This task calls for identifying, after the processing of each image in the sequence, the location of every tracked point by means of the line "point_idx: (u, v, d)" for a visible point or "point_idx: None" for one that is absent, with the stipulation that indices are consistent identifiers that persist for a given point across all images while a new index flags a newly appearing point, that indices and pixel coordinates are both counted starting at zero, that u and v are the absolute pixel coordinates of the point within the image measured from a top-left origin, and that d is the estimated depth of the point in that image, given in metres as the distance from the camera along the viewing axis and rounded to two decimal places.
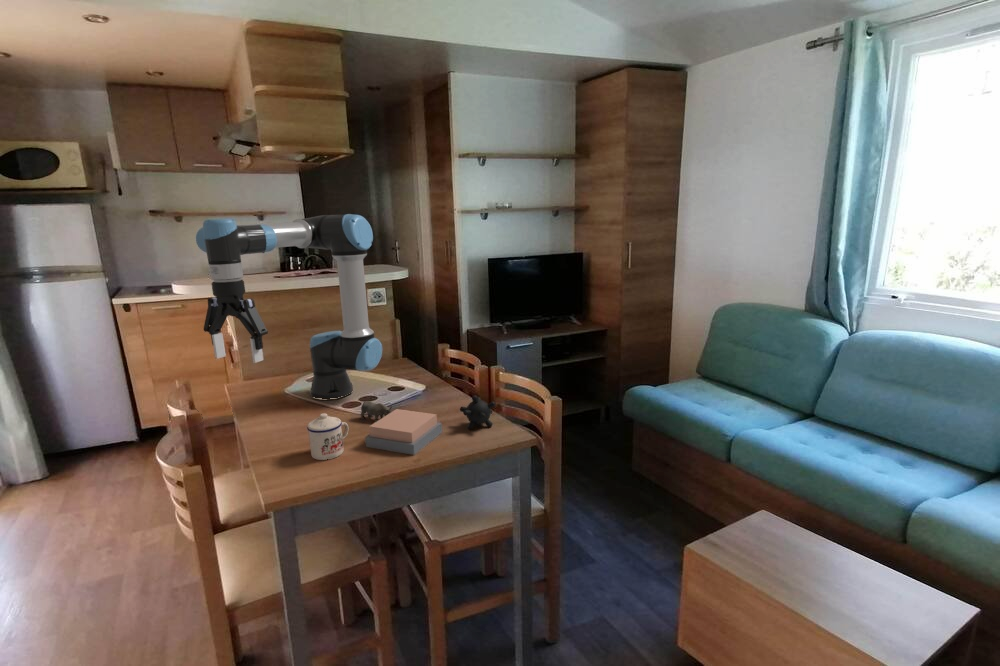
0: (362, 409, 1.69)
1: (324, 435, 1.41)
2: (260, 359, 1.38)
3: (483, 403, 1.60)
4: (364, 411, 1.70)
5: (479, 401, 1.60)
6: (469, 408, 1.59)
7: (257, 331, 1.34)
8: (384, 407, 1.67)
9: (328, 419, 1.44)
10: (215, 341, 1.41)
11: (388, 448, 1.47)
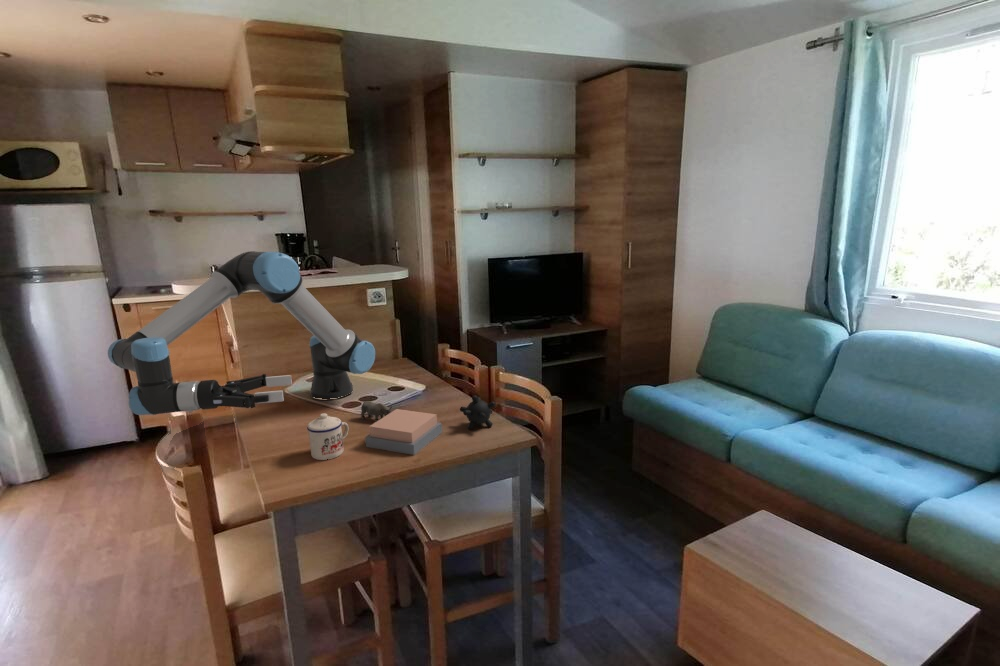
0: (362, 409, 1.69)
1: (324, 435, 1.41)
2: (280, 395, 1.34)
3: (483, 403, 1.60)
4: (364, 411, 1.70)
5: (479, 401, 1.60)
6: (469, 408, 1.59)
7: None
8: (384, 407, 1.67)
9: (328, 419, 1.44)
10: (273, 385, 1.46)
11: (388, 448, 1.47)
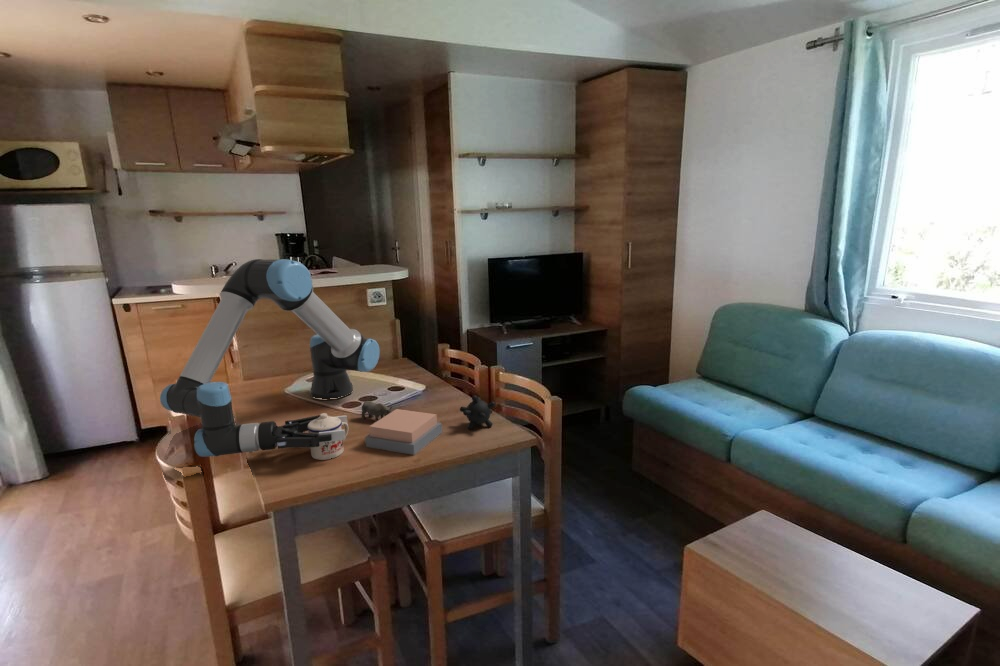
0: (362, 409, 1.69)
1: None
2: (342, 434, 1.41)
3: (483, 403, 1.60)
4: (364, 411, 1.69)
5: (479, 401, 1.60)
6: (469, 408, 1.59)
7: None
8: (384, 407, 1.67)
9: (328, 419, 1.44)
10: None
11: (388, 448, 1.47)
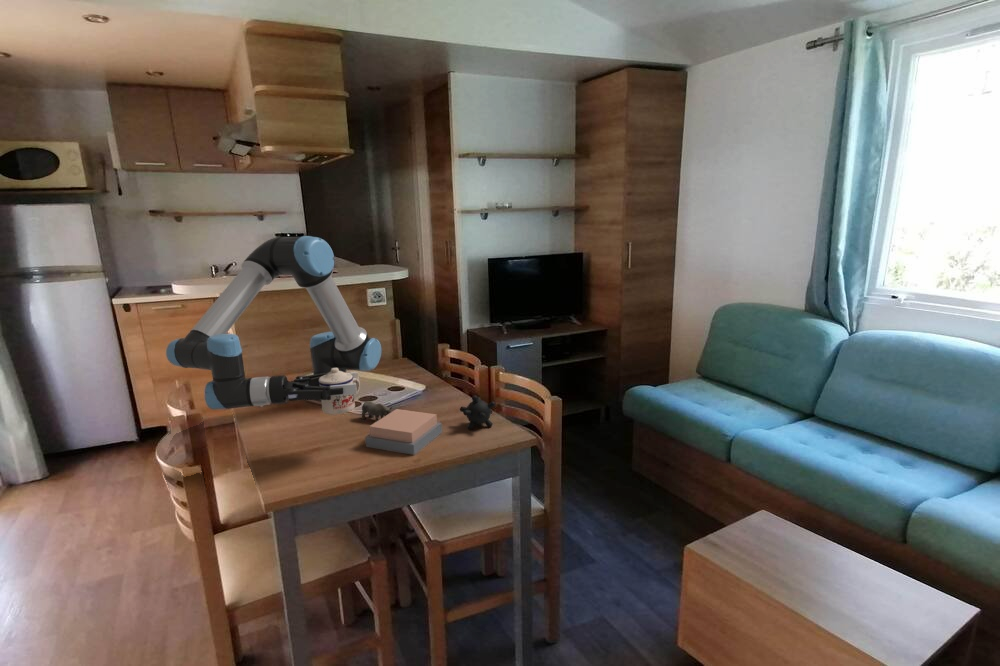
0: (363, 409, 1.69)
1: None
2: (354, 387, 1.39)
3: (483, 403, 1.60)
4: (365, 411, 1.69)
5: (479, 401, 1.60)
6: (469, 408, 1.59)
7: None
8: (384, 407, 1.66)
9: (339, 373, 1.41)
10: None
11: (388, 448, 1.47)
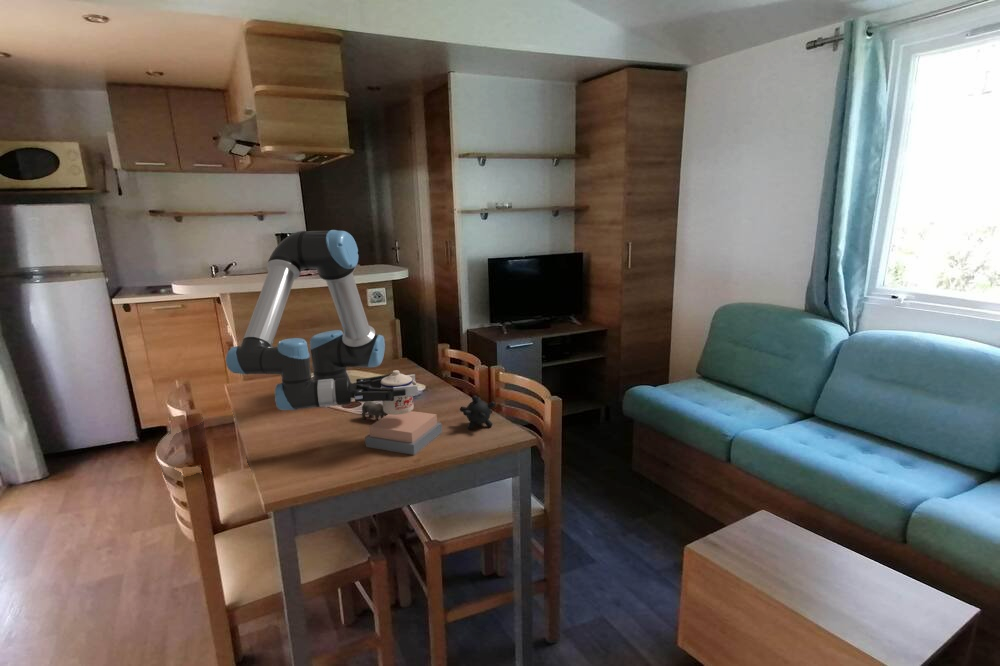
0: (363, 409, 1.69)
1: None
2: (416, 389, 1.46)
3: (483, 403, 1.60)
4: (365, 411, 1.69)
5: (479, 401, 1.60)
6: (469, 408, 1.59)
7: None
8: None
9: (400, 376, 1.48)
10: None
11: (388, 448, 1.47)
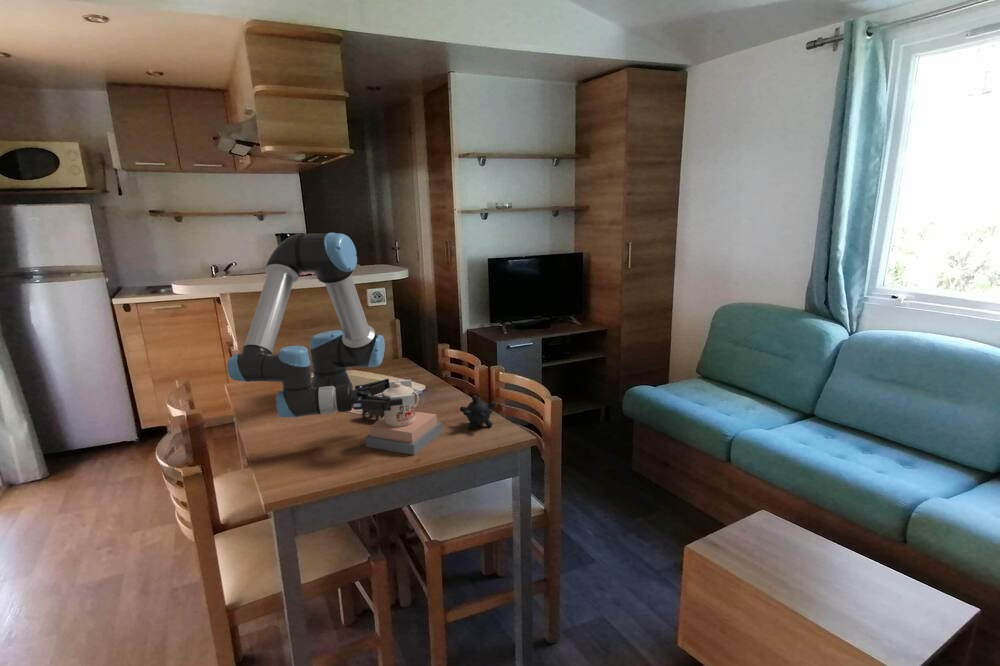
0: (363, 410, 1.69)
1: None
2: (413, 398, 1.45)
3: (483, 403, 1.60)
4: (365, 411, 1.69)
5: (479, 401, 1.60)
6: (469, 408, 1.59)
7: None
8: None
9: (402, 388, 1.49)
10: None
11: (388, 448, 1.47)
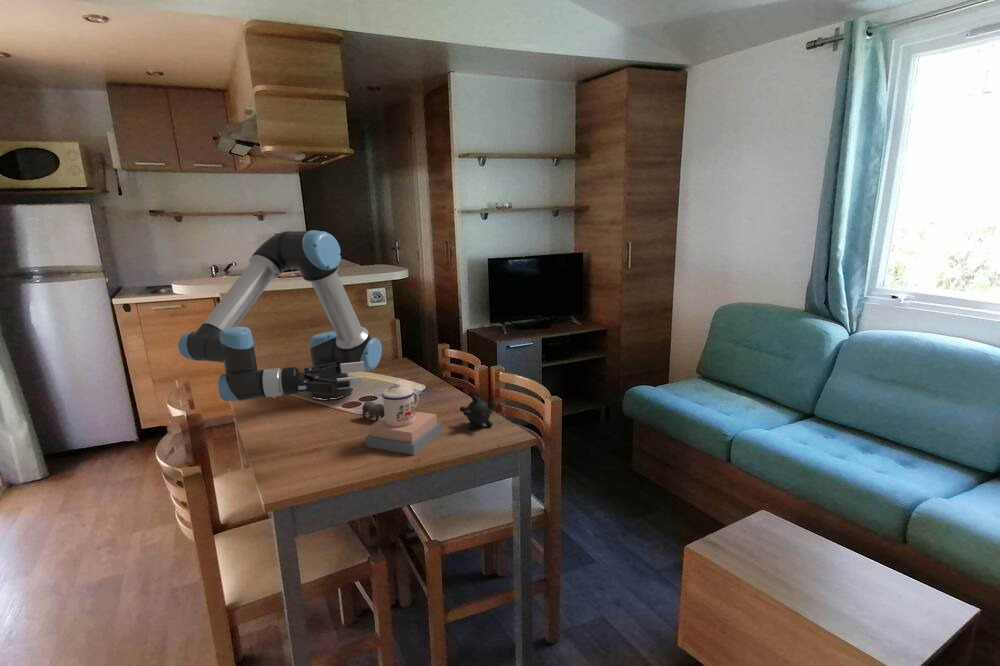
0: (363, 409, 1.69)
1: (399, 402, 1.47)
2: (360, 380, 1.40)
3: (483, 403, 1.60)
4: (365, 411, 1.69)
5: (479, 401, 1.60)
6: (469, 408, 1.59)
7: None
8: None
9: (402, 388, 1.49)
10: (347, 371, 1.53)
11: (388, 448, 1.47)
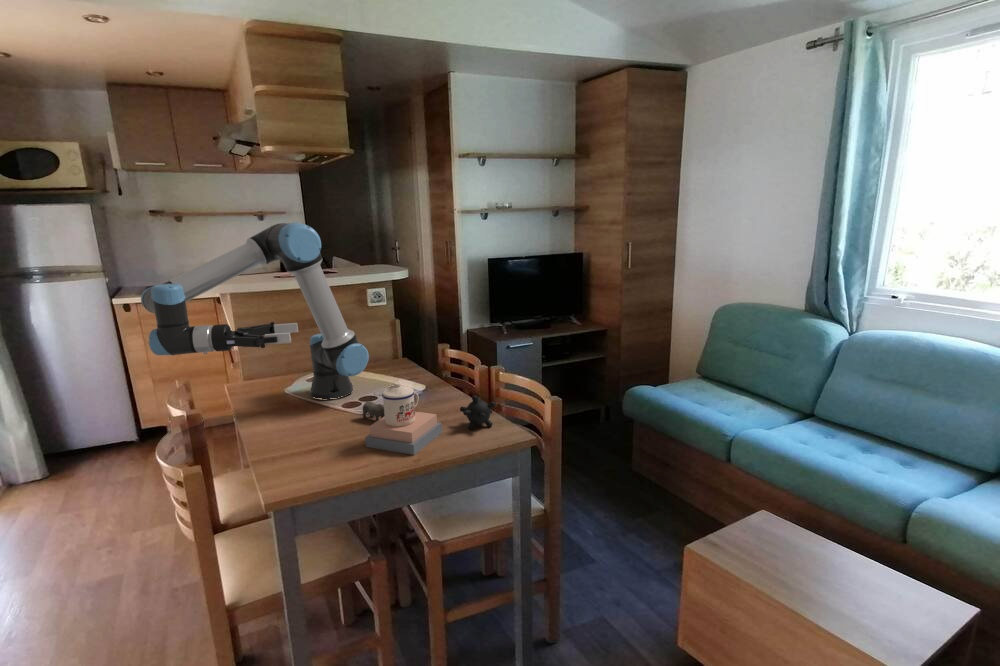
0: (363, 409, 1.69)
1: (399, 402, 1.47)
2: (288, 336, 1.45)
3: (483, 403, 1.60)
4: (365, 411, 1.69)
5: (479, 401, 1.60)
6: (469, 408, 1.59)
7: None
8: None
9: (402, 388, 1.49)
10: (281, 332, 1.58)
11: (388, 448, 1.47)
